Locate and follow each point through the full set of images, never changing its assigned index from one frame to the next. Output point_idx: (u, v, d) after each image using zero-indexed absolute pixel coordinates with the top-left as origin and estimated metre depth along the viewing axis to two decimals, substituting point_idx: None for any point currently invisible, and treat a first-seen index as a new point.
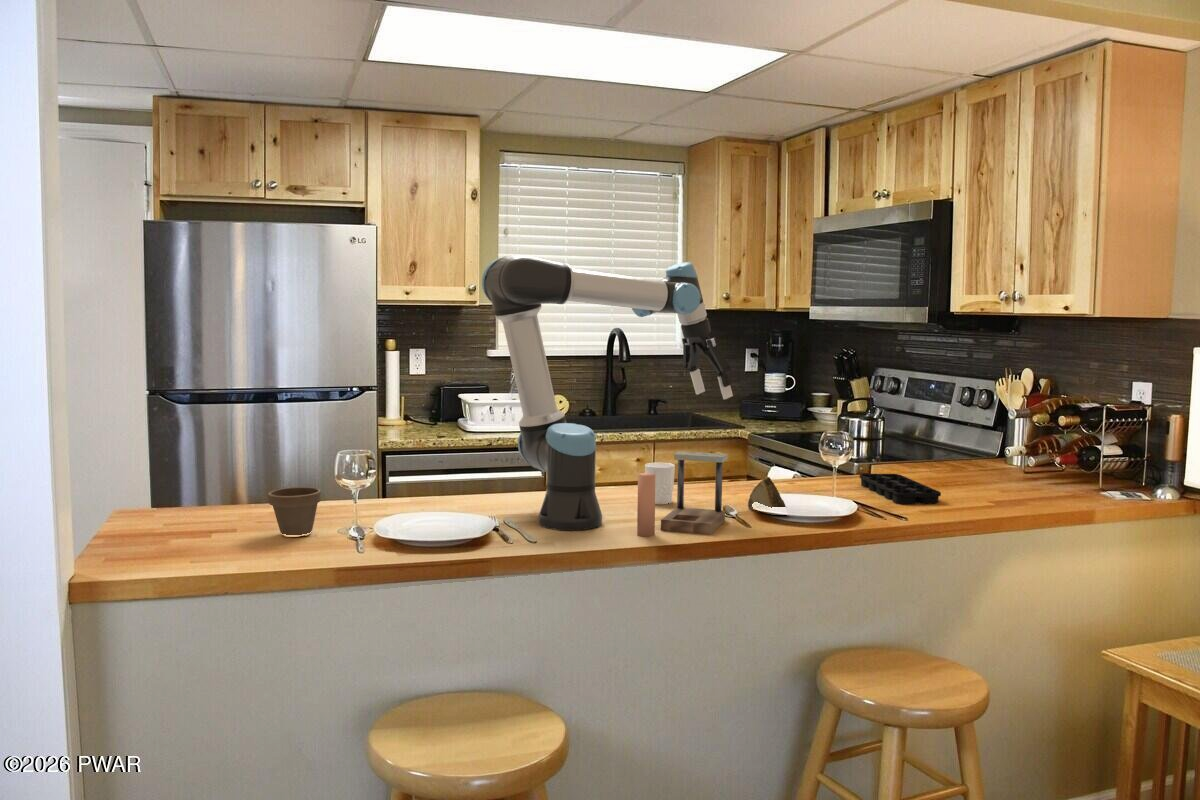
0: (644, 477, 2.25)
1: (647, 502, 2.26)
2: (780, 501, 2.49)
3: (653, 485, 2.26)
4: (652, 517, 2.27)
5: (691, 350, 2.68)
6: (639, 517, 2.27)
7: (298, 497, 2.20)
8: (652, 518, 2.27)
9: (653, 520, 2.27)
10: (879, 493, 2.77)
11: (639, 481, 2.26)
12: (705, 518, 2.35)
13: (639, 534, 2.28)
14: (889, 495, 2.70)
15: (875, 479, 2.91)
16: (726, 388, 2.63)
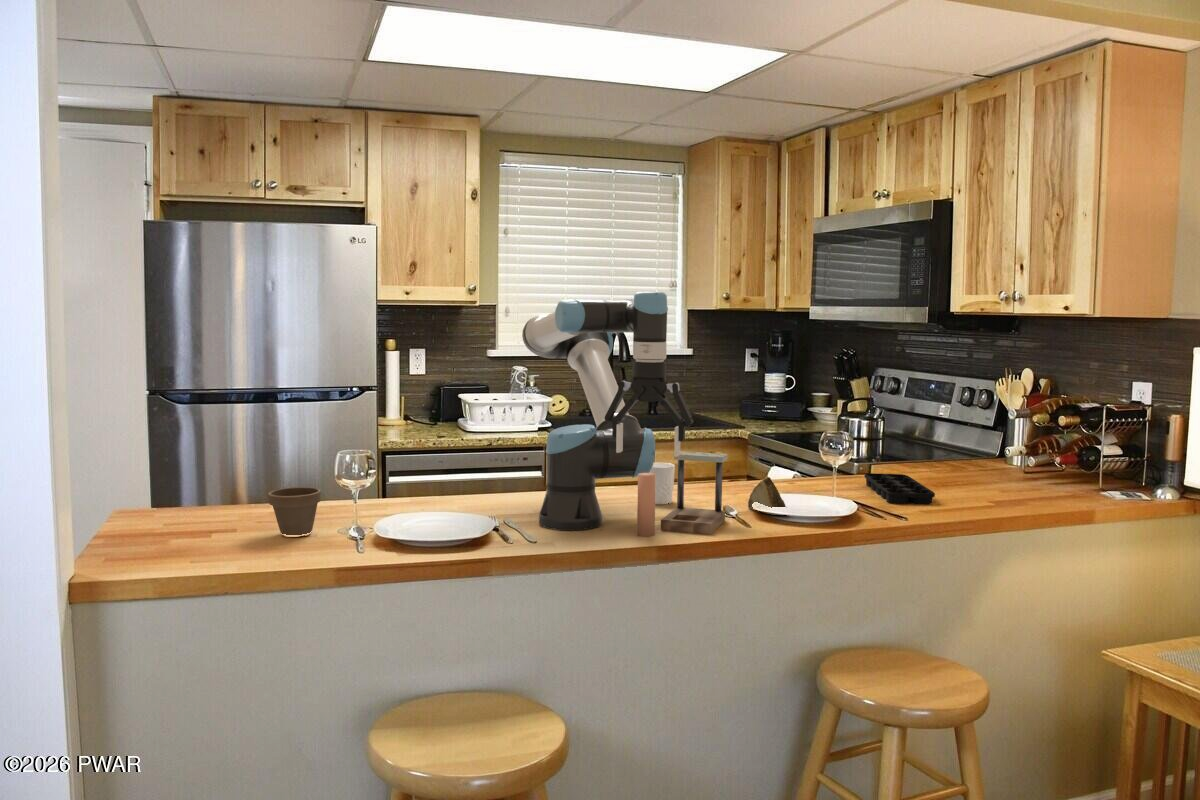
0: (644, 477, 2.25)
1: (647, 502, 2.26)
2: (780, 501, 2.49)
3: (653, 485, 2.26)
4: (652, 517, 2.27)
5: None
6: (639, 517, 2.27)
7: (298, 497, 2.20)
8: (652, 518, 2.27)
9: (653, 520, 2.27)
10: (877, 492, 2.78)
11: (639, 481, 2.26)
12: (705, 518, 2.35)
13: (639, 534, 2.28)
14: (884, 494, 2.71)
15: (881, 479, 2.92)
16: None
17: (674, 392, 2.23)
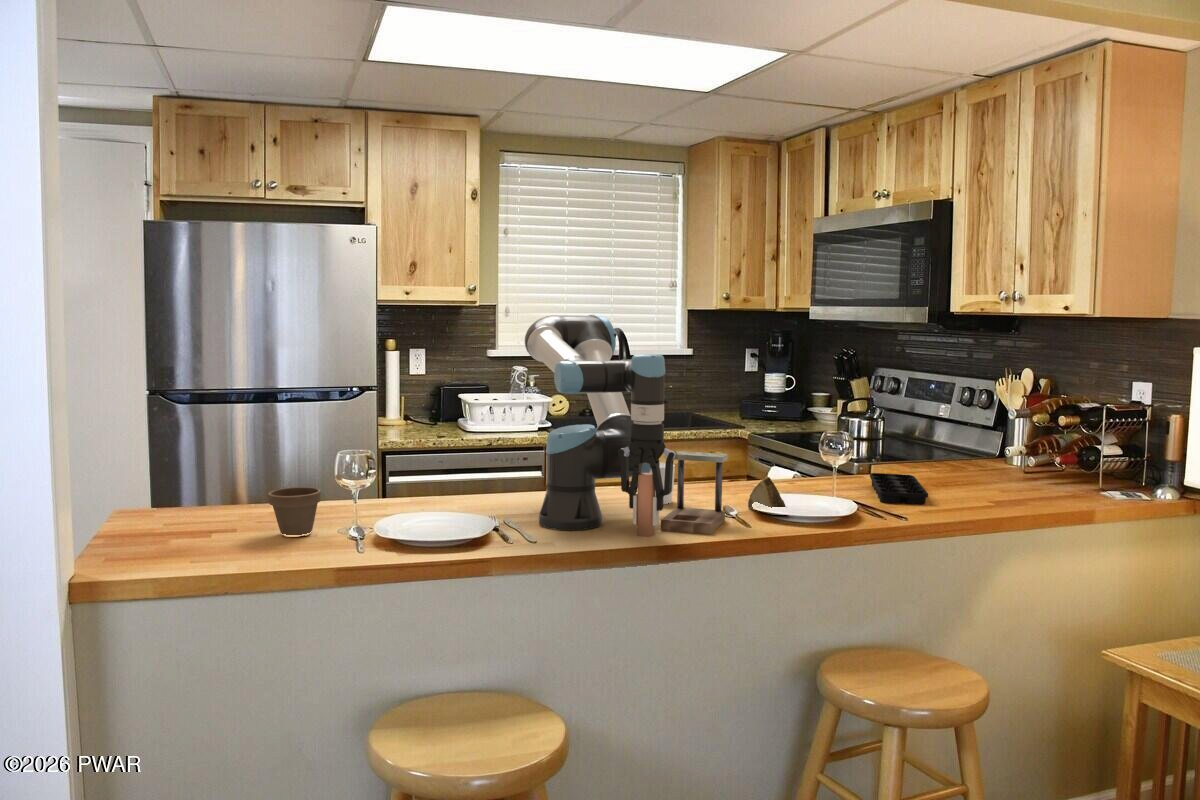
0: (644, 477, 2.25)
1: (647, 502, 2.26)
2: (780, 501, 2.49)
3: (653, 485, 2.26)
4: (652, 517, 2.27)
5: None
6: (639, 517, 2.27)
7: (298, 497, 2.20)
8: (652, 518, 2.27)
9: None
10: (876, 492, 2.78)
11: (639, 481, 2.26)
12: (705, 518, 2.35)
13: (639, 534, 2.28)
14: (879, 494, 2.72)
15: None
16: None
17: (667, 460, 2.24)
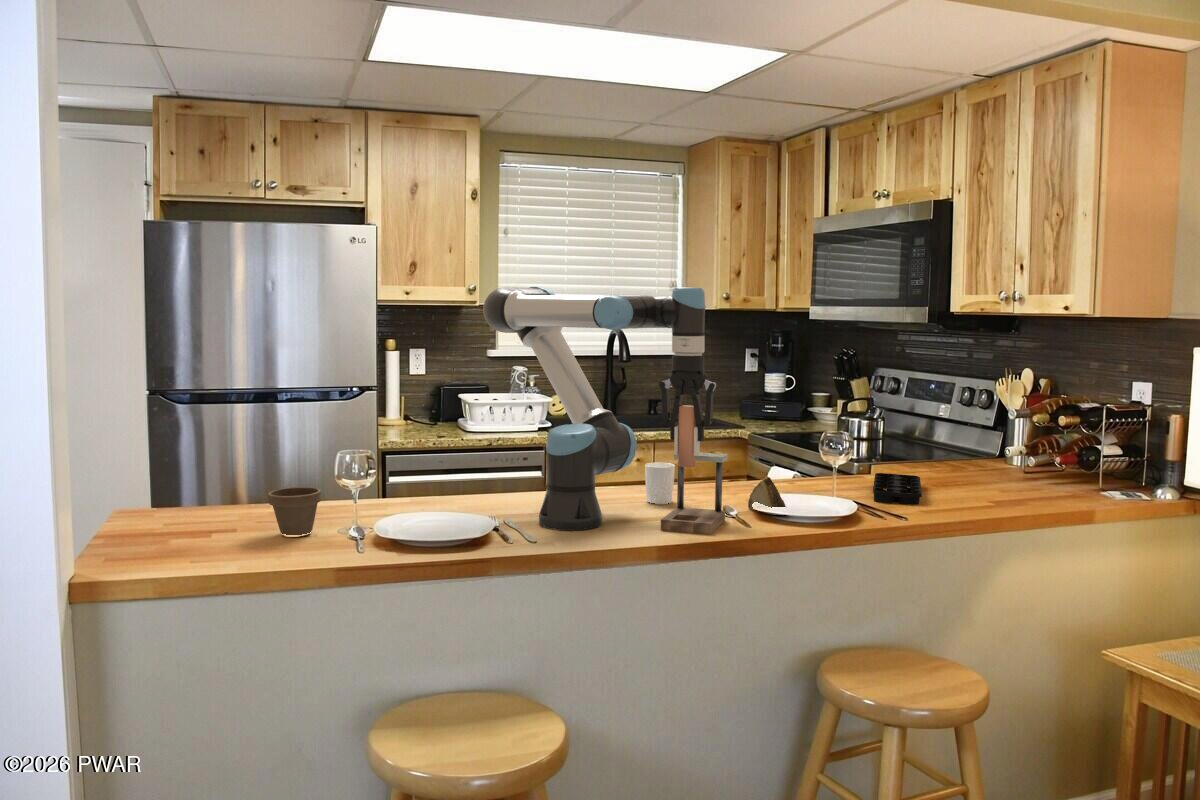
0: (685, 408, 2.30)
1: (688, 433, 2.31)
2: (780, 501, 2.49)
3: (694, 416, 2.31)
4: (693, 448, 2.31)
5: None
6: (680, 448, 2.32)
7: (298, 497, 2.20)
8: (693, 449, 2.32)
9: None
10: None
11: (680, 413, 2.31)
12: (705, 518, 2.35)
13: (680, 465, 2.32)
14: None
15: None
16: None
17: (708, 391, 2.29)
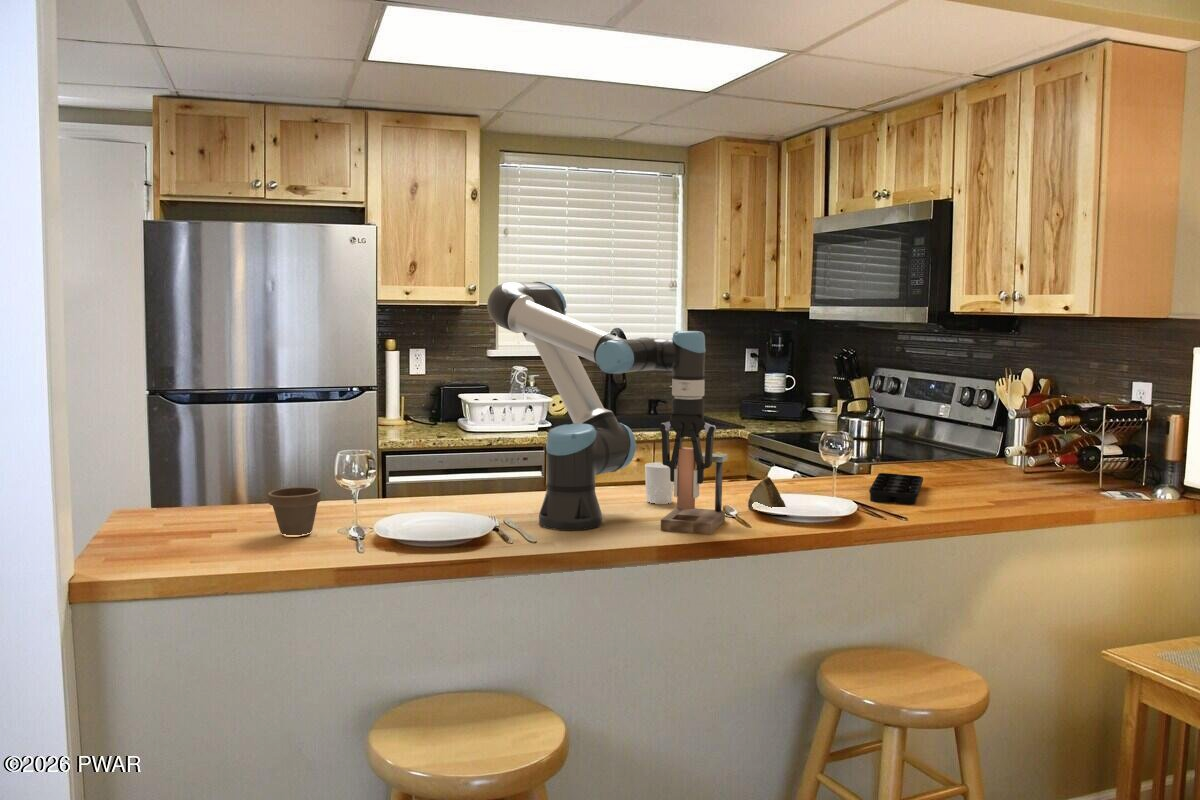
0: (685, 451, 2.32)
1: (688, 475, 2.32)
2: (780, 501, 2.49)
3: (694, 459, 2.32)
4: (692, 490, 2.33)
5: None
6: (680, 490, 2.33)
7: (298, 497, 2.20)
8: None
9: None
10: None
11: (680, 455, 2.32)
12: (705, 518, 2.35)
13: (680, 507, 2.34)
14: None
15: None
16: None
17: (708, 434, 2.30)
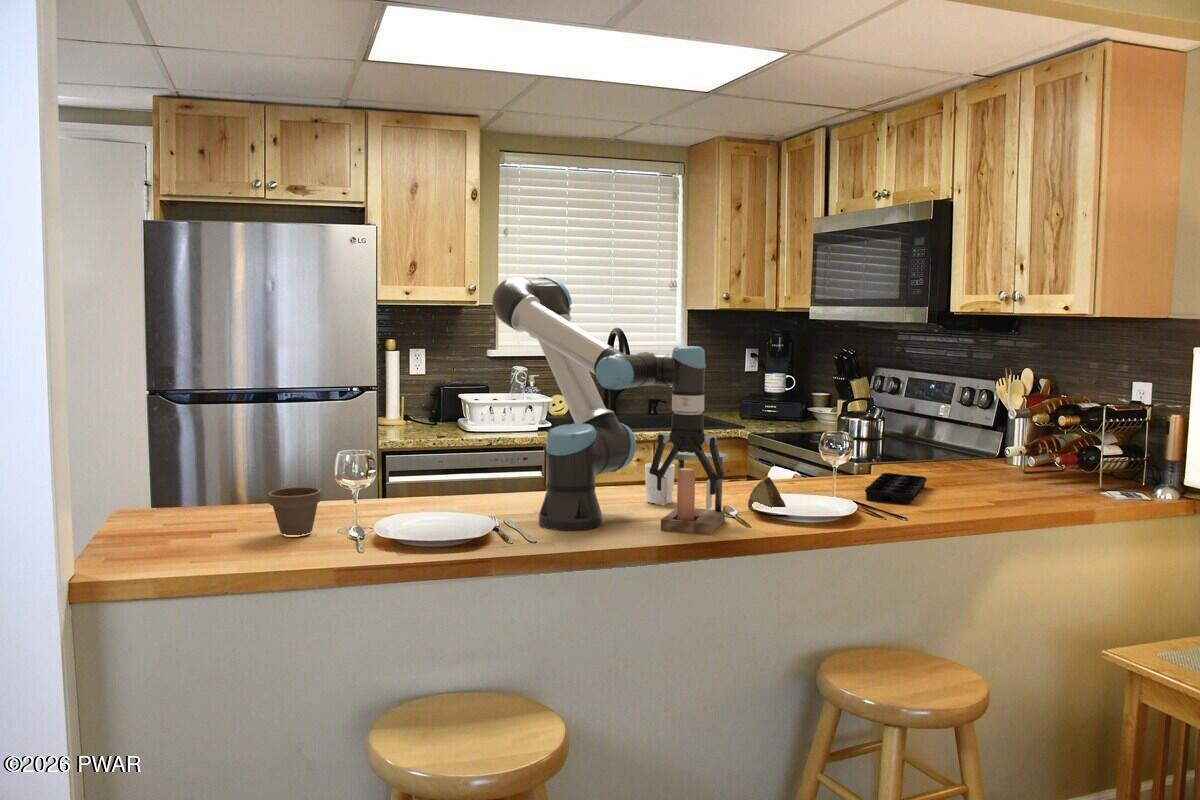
0: (684, 472, 2.32)
1: (687, 496, 2.33)
2: (780, 501, 2.49)
3: (693, 480, 2.33)
4: (692, 511, 2.33)
5: None
6: (679, 511, 2.34)
7: (298, 497, 2.20)
8: (692, 512, 2.34)
9: (693, 514, 2.34)
10: None
11: (679, 476, 2.33)
12: (705, 518, 2.35)
13: None
14: None
15: None
16: None
17: (711, 446, 2.30)
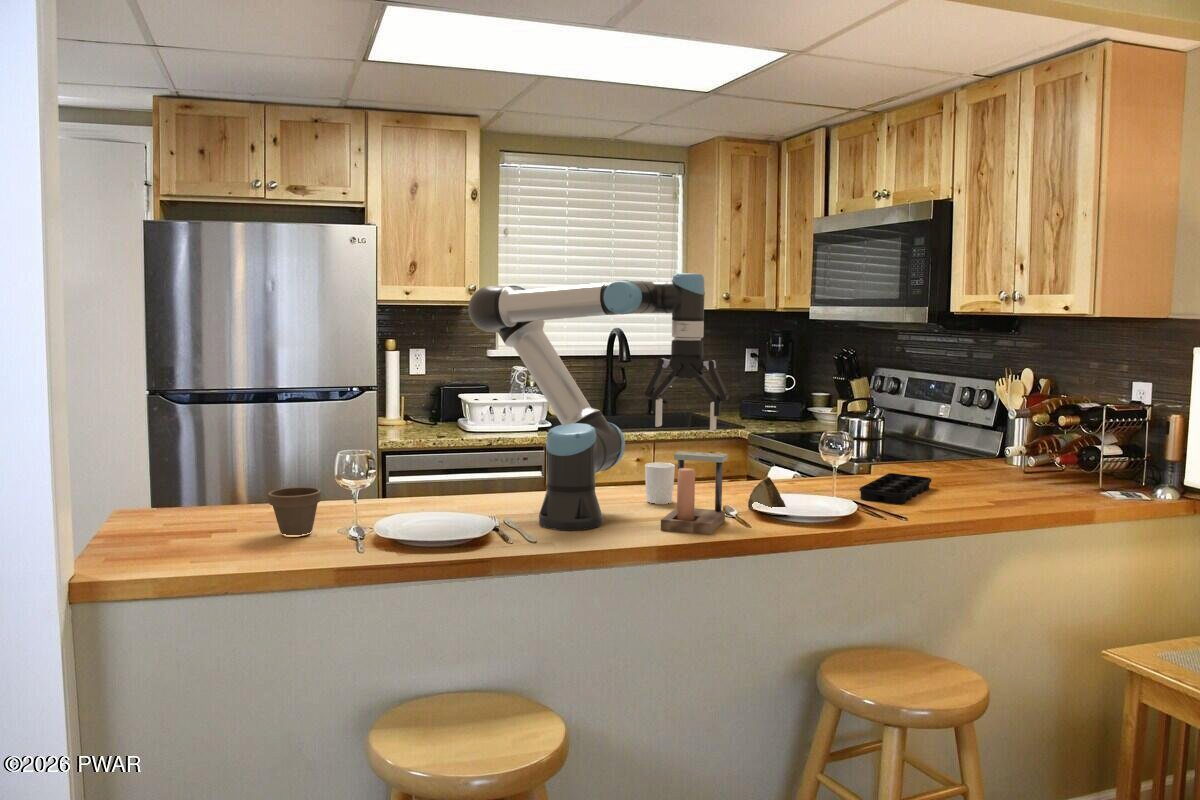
0: (684, 472, 2.32)
1: (687, 496, 2.33)
2: (780, 501, 2.49)
3: (693, 480, 2.33)
4: (692, 511, 2.33)
5: None
6: (679, 511, 2.34)
7: (298, 497, 2.20)
8: (692, 512, 2.34)
9: (693, 514, 2.34)
10: None
11: (679, 476, 2.33)
12: (705, 518, 2.35)
13: None
14: None
15: None
16: None
17: (710, 369, 2.33)
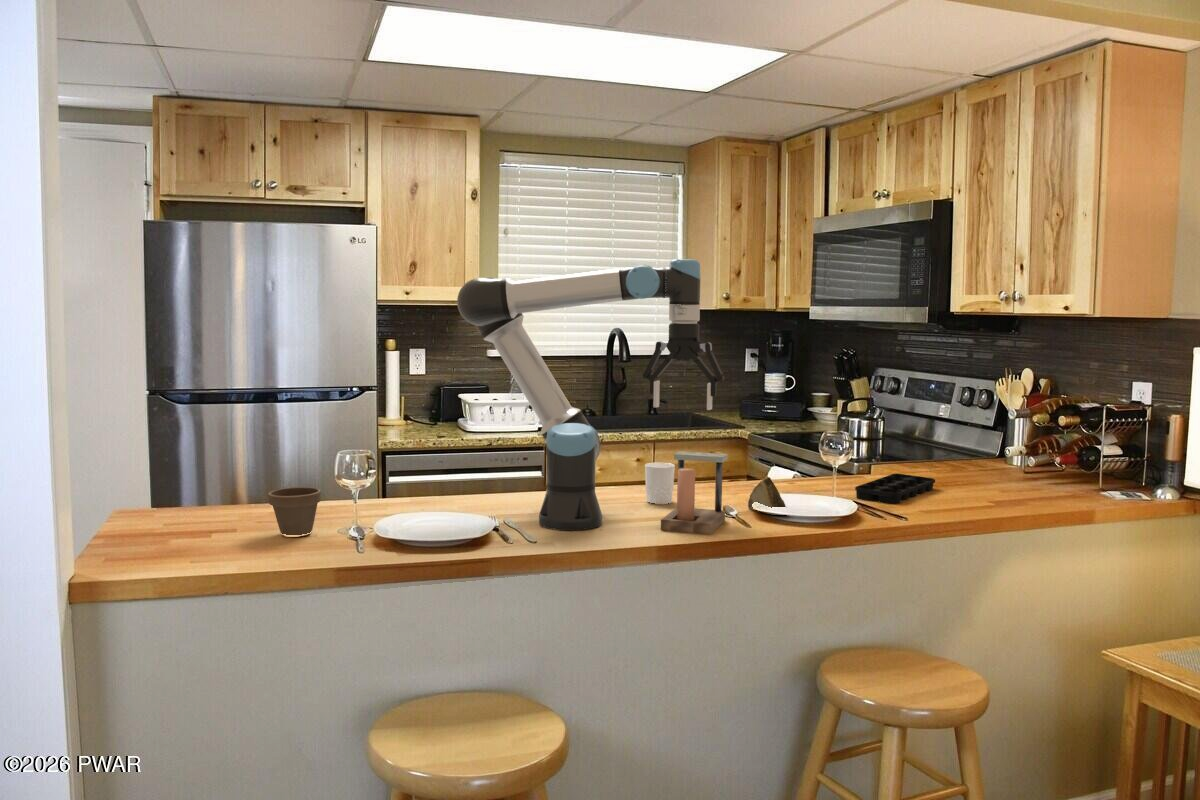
0: (684, 472, 2.32)
1: (687, 496, 2.33)
2: (780, 501, 2.49)
3: (693, 480, 2.33)
4: (692, 511, 2.33)
5: None
6: (679, 511, 2.34)
7: (298, 497, 2.20)
8: (692, 512, 2.34)
9: (693, 514, 2.34)
10: None
11: (679, 476, 2.33)
12: (705, 518, 2.35)
13: None
14: None
15: None
16: None
17: (707, 351, 2.43)
